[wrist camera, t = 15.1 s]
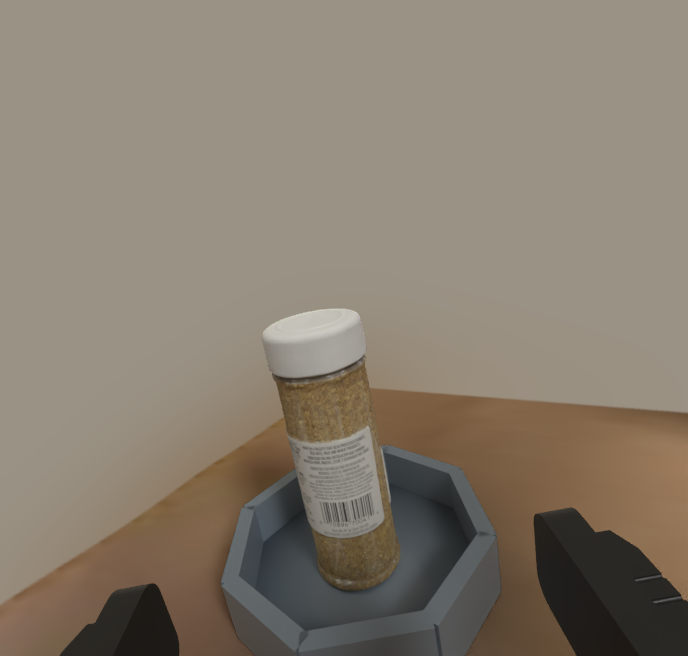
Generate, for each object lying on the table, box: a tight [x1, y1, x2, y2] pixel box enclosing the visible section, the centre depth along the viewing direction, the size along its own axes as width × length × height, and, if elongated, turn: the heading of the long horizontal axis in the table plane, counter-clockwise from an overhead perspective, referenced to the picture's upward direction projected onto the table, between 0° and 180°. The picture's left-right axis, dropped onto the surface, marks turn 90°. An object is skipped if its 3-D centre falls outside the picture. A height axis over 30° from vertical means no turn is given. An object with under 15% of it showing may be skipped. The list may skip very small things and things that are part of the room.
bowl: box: [221, 445, 501, 656], centre depth 23 cm, size 13×13×3 cm
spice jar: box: [262, 309, 400, 591], centre depth 21 cm, size 5×5×14 cm
